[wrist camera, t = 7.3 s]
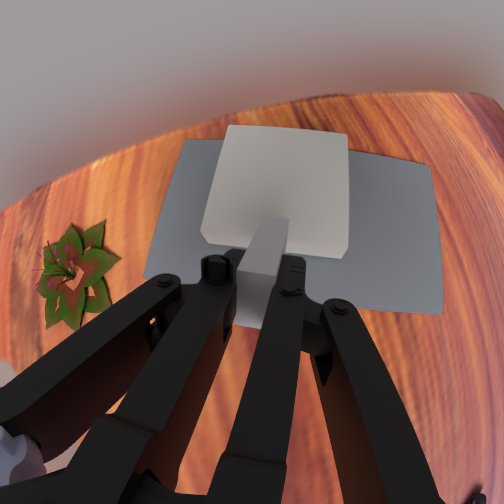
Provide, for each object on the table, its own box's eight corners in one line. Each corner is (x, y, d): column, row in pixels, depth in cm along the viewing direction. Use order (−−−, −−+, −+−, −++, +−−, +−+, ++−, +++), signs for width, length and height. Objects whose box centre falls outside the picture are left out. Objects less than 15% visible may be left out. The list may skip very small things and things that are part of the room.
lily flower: (135, 327, 21) (105, 320, 17) (42, 347, 21) (10, 342, 17) (121, 204, 26) (98, 179, 21) (39, 241, 26) (12, 225, 21)
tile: (340, 260, 20) (342, 154, 24) (348, 247, 18) (347, 134, 21) (209, 244, 22) (233, 144, 25) (200, 230, 19) (228, 124, 23)
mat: (427, 168, 23) (429, 165, 23) (439, 314, 19) (442, 313, 18) (186, 142, 26) (185, 139, 26) (145, 279, 22) (142, 277, 22)
